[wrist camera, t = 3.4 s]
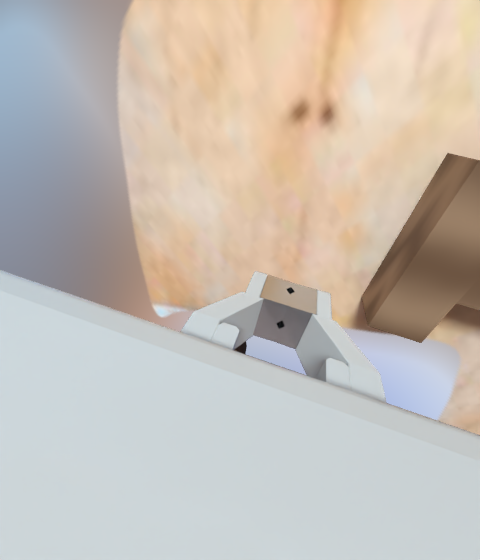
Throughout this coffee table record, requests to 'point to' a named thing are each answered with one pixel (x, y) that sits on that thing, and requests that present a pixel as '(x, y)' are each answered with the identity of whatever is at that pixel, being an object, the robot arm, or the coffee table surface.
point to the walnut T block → (431, 256)
